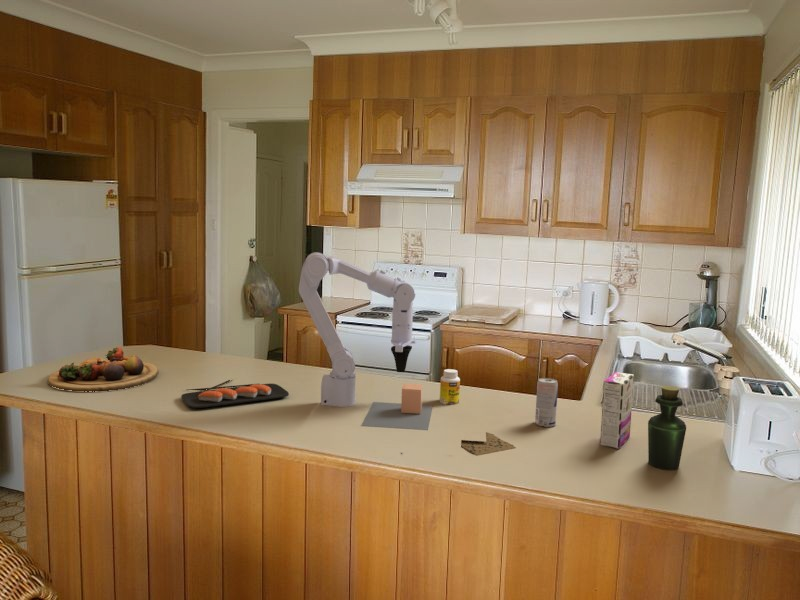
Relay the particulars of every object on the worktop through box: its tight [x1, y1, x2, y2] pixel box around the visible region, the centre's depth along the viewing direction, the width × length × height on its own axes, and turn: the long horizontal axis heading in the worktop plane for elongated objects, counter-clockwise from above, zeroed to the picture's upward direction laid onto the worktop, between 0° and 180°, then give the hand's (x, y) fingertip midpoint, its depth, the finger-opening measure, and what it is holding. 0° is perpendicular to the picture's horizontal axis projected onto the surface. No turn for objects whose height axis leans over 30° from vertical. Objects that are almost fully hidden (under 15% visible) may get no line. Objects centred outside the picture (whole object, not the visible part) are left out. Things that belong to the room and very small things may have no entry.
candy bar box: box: [599, 371, 635, 450], centre depth 165 cm, size 11×5×16 cm, turn 148°
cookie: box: [460, 431, 517, 457], centre depth 161 cm, size 12×12×1 cm
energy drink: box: [534, 377, 559, 428], centre depth 176 cm, size 5×5×12 cm
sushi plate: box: [180, 379, 289, 409], centre depth 199 cm, size 29×30×4 cm
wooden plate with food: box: [47, 346, 159, 393], centre depth 210 cm, size 32×32×8 cm
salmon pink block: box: [400, 383, 424, 414], centre depth 181 cm, size 5×5×7 cm
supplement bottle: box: [439, 368, 461, 406], centre depth 191 cm, size 6×6×10 cm
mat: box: [360, 401, 434, 431], centre depth 178 cm, size 17×21×1 cm
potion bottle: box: [647, 385, 687, 471], centre depth 150 cm, size 8×8×18 cm
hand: (400, 371), depth 189 cm, fingers closed
